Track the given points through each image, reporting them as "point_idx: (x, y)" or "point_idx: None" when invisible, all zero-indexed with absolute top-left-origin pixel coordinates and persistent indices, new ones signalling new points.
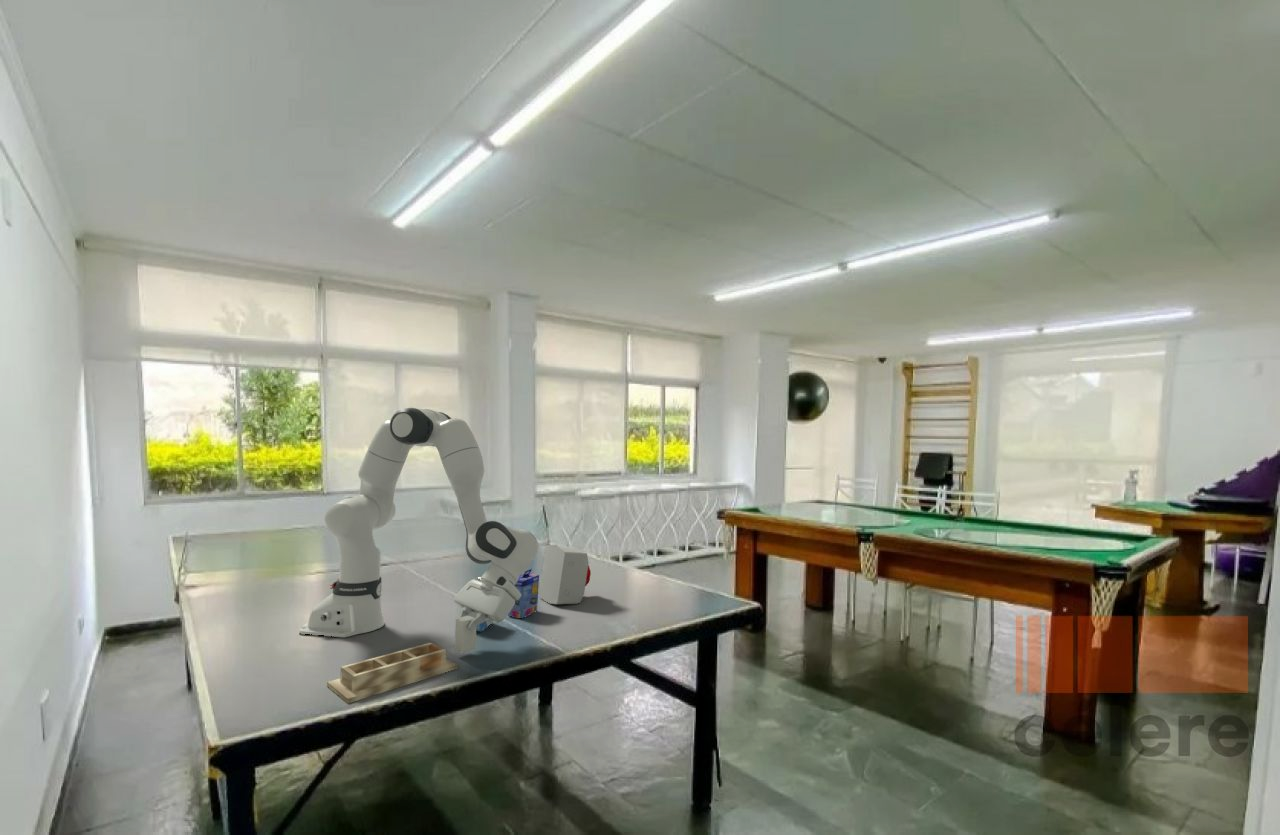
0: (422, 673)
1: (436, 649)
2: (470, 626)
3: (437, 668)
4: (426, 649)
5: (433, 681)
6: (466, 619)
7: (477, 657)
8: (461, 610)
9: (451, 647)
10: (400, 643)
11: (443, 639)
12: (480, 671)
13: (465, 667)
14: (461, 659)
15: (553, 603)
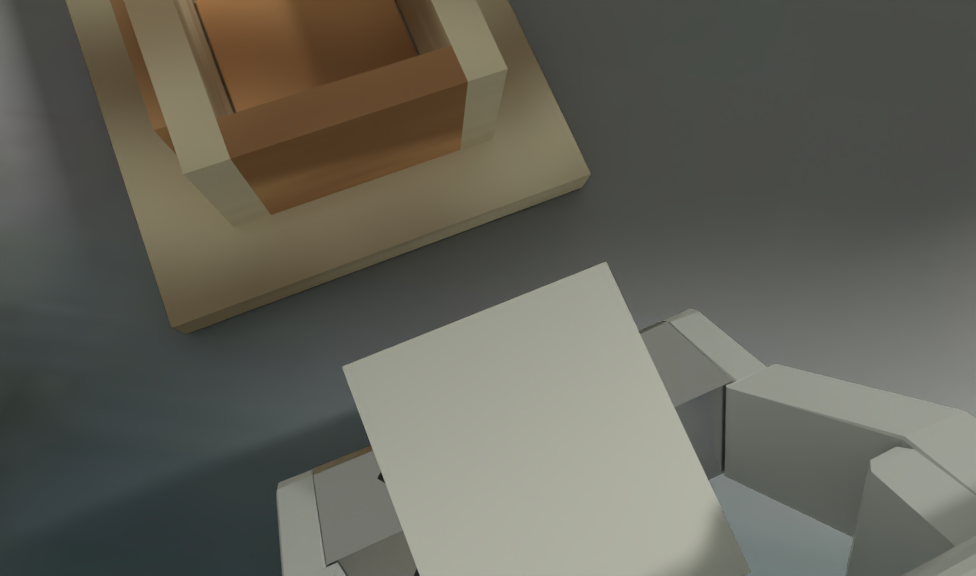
0: (120, 33)
1: (299, 100)
2: (285, 515)
3: (170, 153)
4: (437, 47)
5: (14, 118)
6: (458, 460)
7: None
8: (927, 406)
9: None
10: (931, 3)
11: (956, 316)
12: (7, 531)
13: (185, 407)
14: None
15: None
